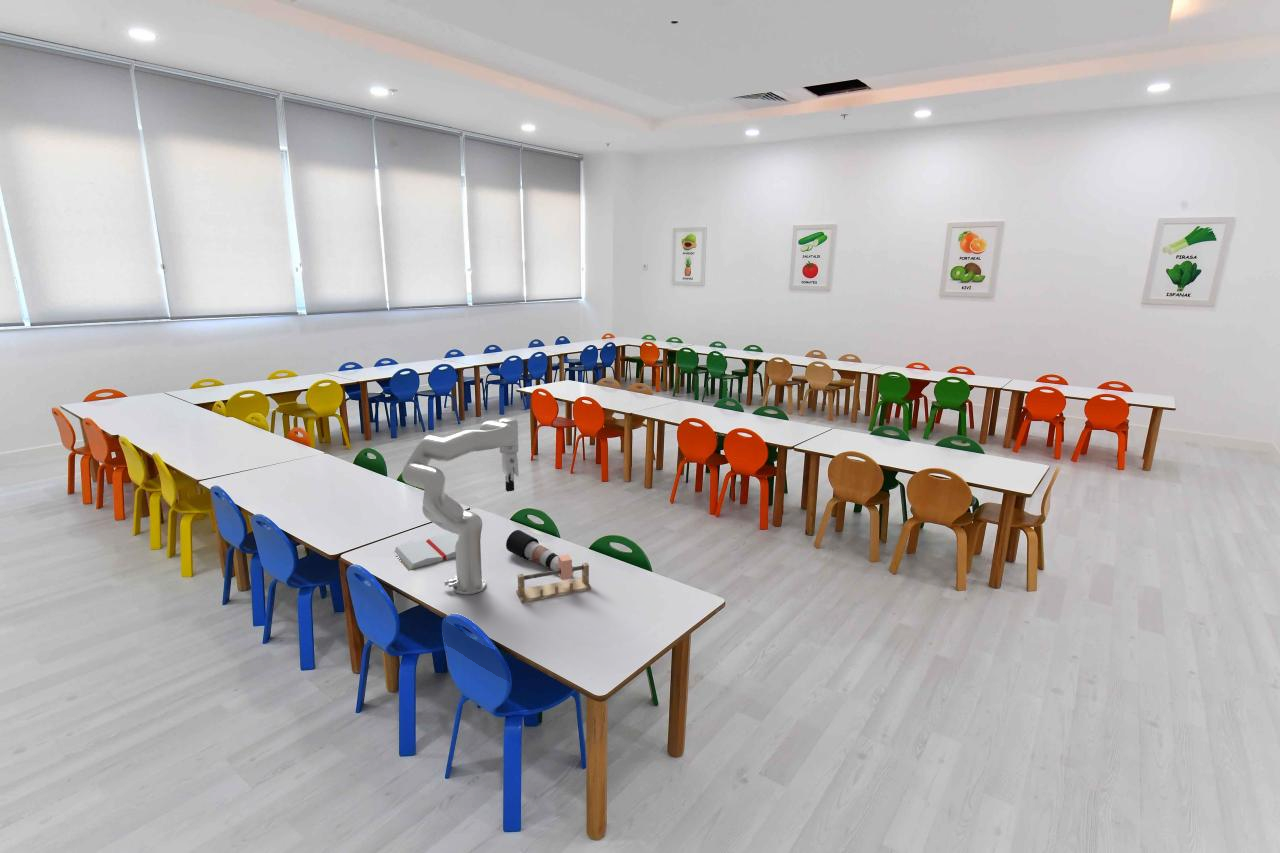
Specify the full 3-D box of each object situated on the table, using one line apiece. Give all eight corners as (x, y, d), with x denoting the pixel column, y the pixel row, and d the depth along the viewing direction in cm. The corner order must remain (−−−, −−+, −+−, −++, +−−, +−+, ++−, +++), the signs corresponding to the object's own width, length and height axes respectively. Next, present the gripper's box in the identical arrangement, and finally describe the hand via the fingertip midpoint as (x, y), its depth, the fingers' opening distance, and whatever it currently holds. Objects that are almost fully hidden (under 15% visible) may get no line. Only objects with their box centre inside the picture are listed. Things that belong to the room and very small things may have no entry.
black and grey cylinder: (565, 587, 263) (559, 572, 256) (510, 555, 281) (503, 541, 274) (581, 569, 268) (575, 554, 262) (525, 540, 286) (519, 525, 280)
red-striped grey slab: (408, 572, 263) (408, 563, 262) (391, 552, 280) (390, 544, 279) (476, 554, 281) (476, 546, 280) (456, 537, 298) (456, 529, 297)
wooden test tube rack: (521, 602, 241) (520, 580, 239) (516, 592, 248) (515, 570, 246) (591, 589, 252) (591, 567, 250) (584, 580, 259) (584, 558, 257)
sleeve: (562, 580, 248) (562, 561, 246) (558, 574, 252) (558, 555, 250) (571, 578, 249) (571, 559, 247) (567, 572, 254) (567, 554, 252)
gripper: (522, 452, 254) (523, 495, 258) (513, 442, 267) (514, 483, 272) (503, 454, 251) (504, 497, 255) (495, 444, 264) (497, 485, 269)
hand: (510, 490), depth 264 cm, fingers closed
